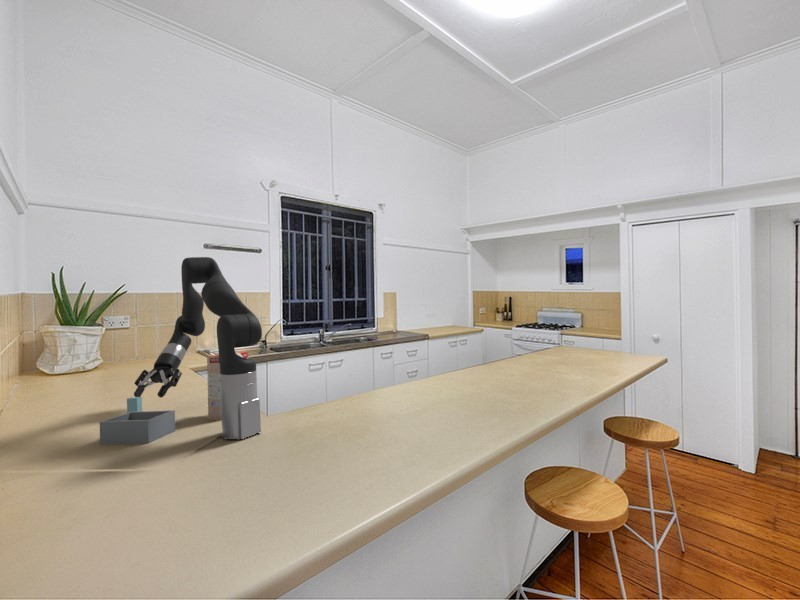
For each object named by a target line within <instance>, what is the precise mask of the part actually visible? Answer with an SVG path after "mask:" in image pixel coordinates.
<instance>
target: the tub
mask: <svg viewBox="0 0 800 600" xmlns="http://www.w3.org/2000/svg"><path fill="white" fill-rule="evenodd" d="M174 432H176V411H175V410H148V411H144V410H142V411H140V412H128V413H127V412H125V413H122V414H119V415H116V416H113V417H110V418H106V419H105V420H101V421H99V444H100V445H131V444H132V445H133V444H135V445H137V444H139V445H140V444H150V443H153V442H154V441H157V440H159V439H162V438H164V437H165V436H167V435H171V434H173V433H174Z"/></svg>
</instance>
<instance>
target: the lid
mask: <svg viewBox="0 0 800 600" xmlns="http://www.w3.org/2000/svg"><path fill="white" fill-rule="evenodd" d="M140 411H143V397H142V396H140V397H135V396H131V397H128V398H126V413H128V412H140Z"/></svg>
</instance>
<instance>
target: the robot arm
mask: <svg viewBox="0 0 800 600" xmlns="http://www.w3.org/2000/svg"><path fill="white" fill-rule="evenodd" d="M180 271H181V272H180V273H181V288H182V290H181V291H182V307H181V308H182V309H181V315H179V316H178V317H177V319H176V320H175V325H174V329H173V334H172V336H171V338H170V339H169V341H168V343H167V344H166V345H165V347H164V348H163V349H162V351H161V352H160V353H159V356H158V357H157V358H156V360H155V362H154V363H153V369H151V370H150V371H147V370H146V369H144V370H142V371H141V373H140V374H139V376H138V377H137V378H136V380H135V381H134V383H133V384H134V385H135V386H136V387H137V388H136V389H135V390H134V392H133V397H142V395H143V393H144V392H145V389H146V388H148V387H149V386H152V385H154V384H159V383H160V384H162V385H161V387H160V389H159V390H158V392H157V394H156V396H158V397H159V398H164V396H166V394H167V392H168V390H169V389H170V388H171V387H173V388H176V387H177V386H178V383H179V380H180V378H181V377H182V374H183V373H182V372H181V370H180V369H179V367H180V365H181V363H182V361H183V360H184V358H185V356H186V354H187V351H188V349H189V348H190V346H191V344H192V338H191V337H190V336H192V337H199V336H201V335H202V334H203V333H204V331H205V328H206V322H205V318H204V315H203V311H204V306H206V308H207V309H208V310H209V311H210V312H211V313H212V314H214V315H216V316H218V317H219V318H218V319H217V322H216V323H217V324H216V339H217V346H218V349H217V350H218V354H219V364H220V380H221V409H222V420H221V425H222V426H221V428H222V429H221V430H222V439H223V438H224V440H227V439H237V440H240V439H243V440H245V439H247V438H246V437H248V438H250V437H249V436H251V435H254V434H256V433H259V432H261V433H262V429H261V428H262V425H261V422H262V420H261V403H260V401H261V400H260V398H258V382H257V381H258V379H257V378H258V377H257V363H256V360H254V359H251V358H248V359H247V358H243V357H240V356H239V355H237V354H236V353H235V352H236V350H235V349H237V348H246V347H253V346H256V345H257V344H258V343H260V341H261V340H262V336H263V329H262V325H261V323H260V320H259V319H258V317H257V315H256V314H255V313H253V311H251V309H249V307H248V306H246V305H245V304H244V303H243V301H242V300H241V299H240V298H239V296H238V295H237V293H236V292H235V290H234V289H233V288H232V286H231V285H230V283H229V282H228V281H227V279H226V278H225V277H224V275H223V273H222V271H221V268H220V266H219V264H218V263H217V262H216V259H214V258H212V257H210V256H209V257H207V256H201V257H199V256H197V257H196V256H194V257H193V256H192V257H190V256H189V257H185V258H184V259H182V263H181V270H180ZM193 284H194V285H195V284H196V285H197V284H203V287H202V289H201V292H200V293H201V294H200V293H199V292H198V291H197V290H196V288H195V287H194V286H193ZM259 434H260V433H259ZM256 435H257V434H256ZM254 436H255V435H254ZM251 437H252V436H251ZM244 438H245V439H244Z"/></svg>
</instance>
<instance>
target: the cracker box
mask: <svg viewBox="0 0 800 600" xmlns="http://www.w3.org/2000/svg"><path fill="white" fill-rule="evenodd" d="M235 353H236V354H237V355H239V356H240V357H243V358H247V359H249V351H245V350H244V351H243V350H239V351H235ZM206 358H207V359H206V363H207V364H206V367H207V409H208V410H207V411H208V412H207V414H208V416H207V417H208V418H207V419H208V421H222V409H221V380H220V364H219V353H218V354H214V355H213V354H211V355H207V356H206Z"/></svg>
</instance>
